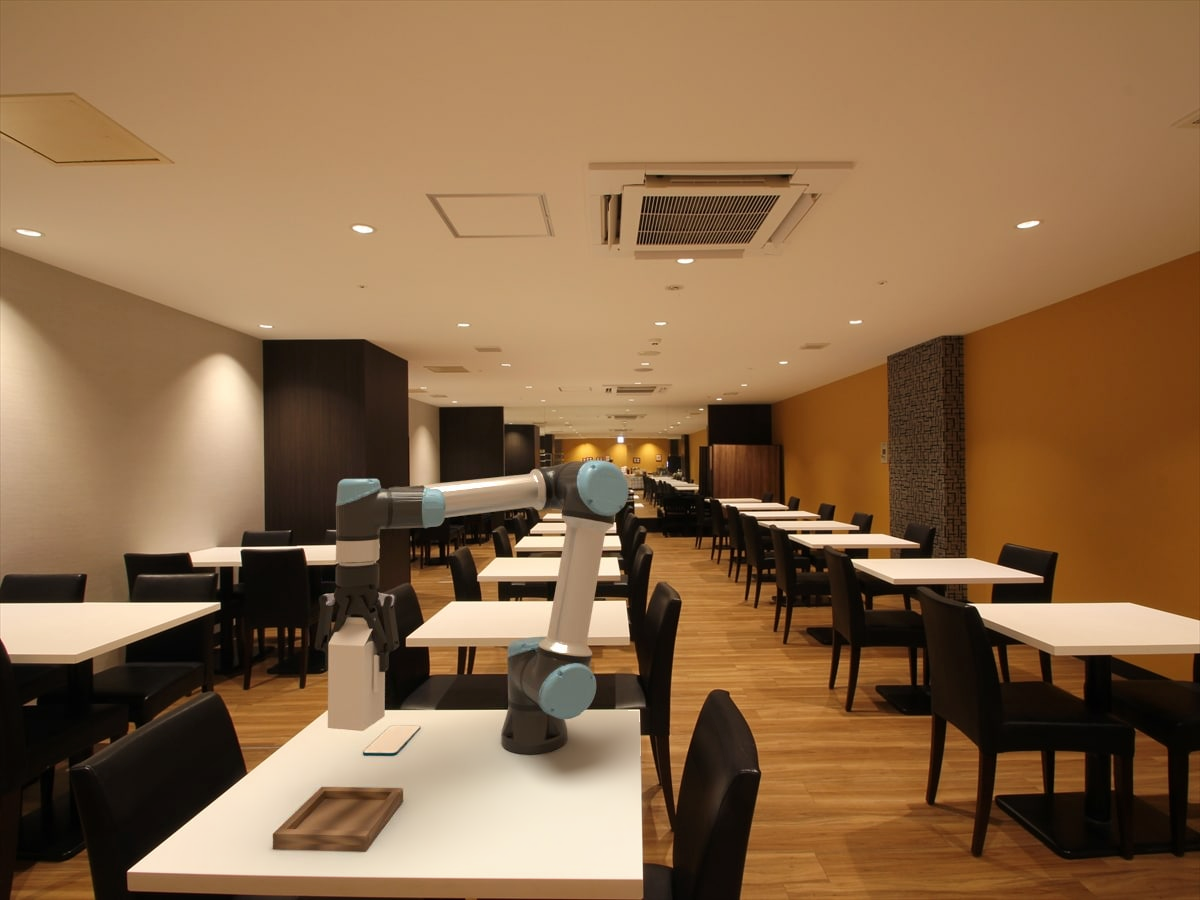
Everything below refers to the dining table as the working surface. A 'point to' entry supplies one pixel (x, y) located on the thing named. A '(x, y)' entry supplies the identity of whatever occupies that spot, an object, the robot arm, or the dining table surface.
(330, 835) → the holder
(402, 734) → the smartphone
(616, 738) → the dining table surface
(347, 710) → the milk carton
